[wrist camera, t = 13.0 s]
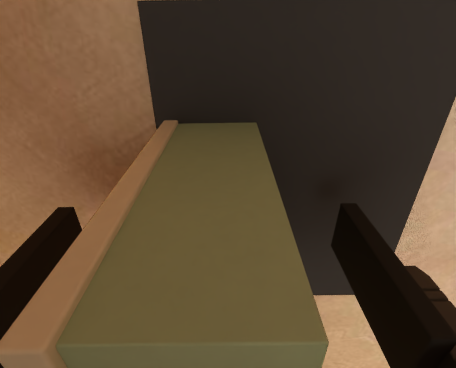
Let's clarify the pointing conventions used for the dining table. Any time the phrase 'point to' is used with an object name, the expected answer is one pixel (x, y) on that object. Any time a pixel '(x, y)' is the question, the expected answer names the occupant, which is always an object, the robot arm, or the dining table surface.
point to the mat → (315, 100)
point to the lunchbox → (179, 268)
